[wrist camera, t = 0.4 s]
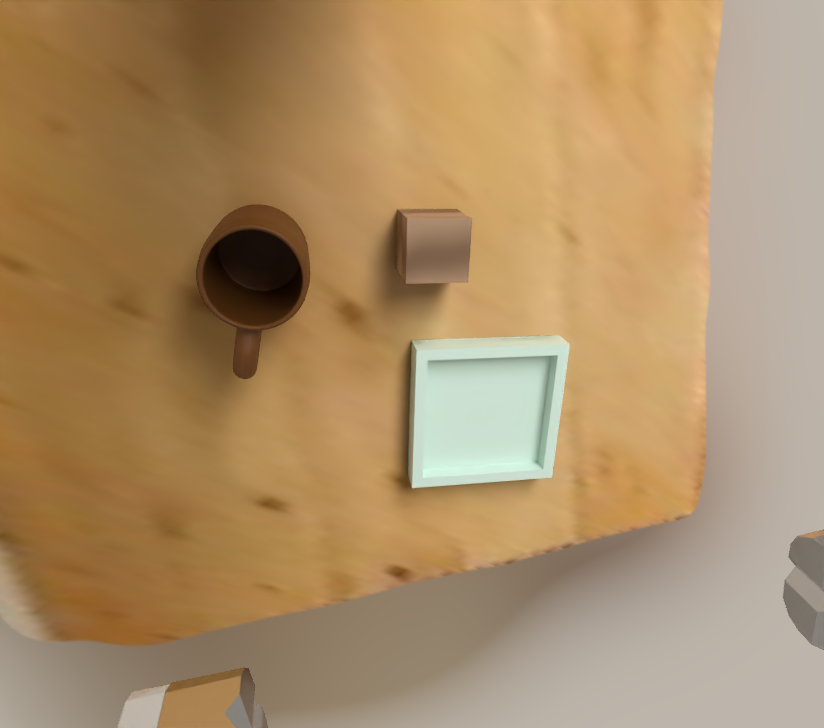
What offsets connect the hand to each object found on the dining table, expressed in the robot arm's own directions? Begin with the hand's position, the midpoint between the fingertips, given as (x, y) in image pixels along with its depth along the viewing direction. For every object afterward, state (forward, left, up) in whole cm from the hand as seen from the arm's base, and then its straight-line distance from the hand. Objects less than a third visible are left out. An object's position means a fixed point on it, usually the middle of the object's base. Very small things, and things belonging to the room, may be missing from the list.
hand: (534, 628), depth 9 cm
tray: (+19, +13, -44) cm, 50 cm away
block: (+3, +7, -44) cm, 45 cm away
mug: (+6, -7, -44) cm, 45 cm away
